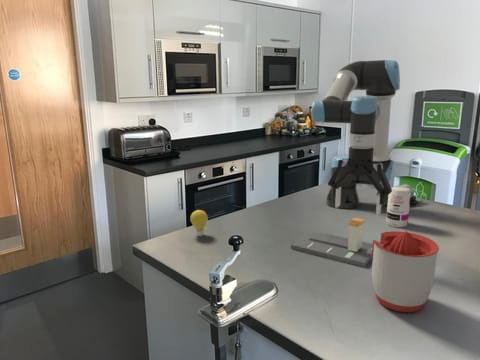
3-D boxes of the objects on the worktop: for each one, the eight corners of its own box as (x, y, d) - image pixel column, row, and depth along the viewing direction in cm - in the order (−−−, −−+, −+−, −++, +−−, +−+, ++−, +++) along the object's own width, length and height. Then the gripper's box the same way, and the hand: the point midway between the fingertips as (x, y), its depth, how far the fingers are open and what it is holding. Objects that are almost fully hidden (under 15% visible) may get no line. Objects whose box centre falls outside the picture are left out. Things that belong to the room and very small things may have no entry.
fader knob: (352, 244, 137) (354, 217, 135) (362, 246, 135) (364, 219, 133) (347, 249, 133) (348, 222, 130) (356, 252, 131) (358, 224, 128)
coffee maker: (378, 180, 185) (407, 177, 192) (371, 195, 190) (399, 191, 197) (399, 200, 174) (429, 196, 181) (391, 215, 179) (421, 210, 186)
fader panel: (310, 233, 152) (310, 229, 152) (379, 249, 138) (379, 245, 137) (290, 248, 139) (290, 244, 139) (364, 267, 125) (364, 262, 124)
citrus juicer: (375, 279, 118) (380, 215, 113) (438, 298, 107) (447, 229, 102) (353, 301, 106) (357, 232, 101) (421, 326, 95) (430, 249, 90)
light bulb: (187, 236, 151) (186, 211, 148) (197, 230, 157) (196, 206, 154) (202, 239, 148) (201, 214, 145) (211, 233, 154) (211, 209, 151)
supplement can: (404, 221, 164) (407, 186, 160) (410, 228, 156) (414, 191, 152) (383, 220, 165) (386, 185, 161) (389, 227, 157) (392, 191, 153)
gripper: (319, 145, 129) (317, 206, 135) (399, 152, 115) (393, 220, 121) (328, 141, 135) (326, 200, 141) (405, 148, 121) (399, 213, 127)
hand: (357, 210), depth 131 cm, fingers open, 13 cm apart
